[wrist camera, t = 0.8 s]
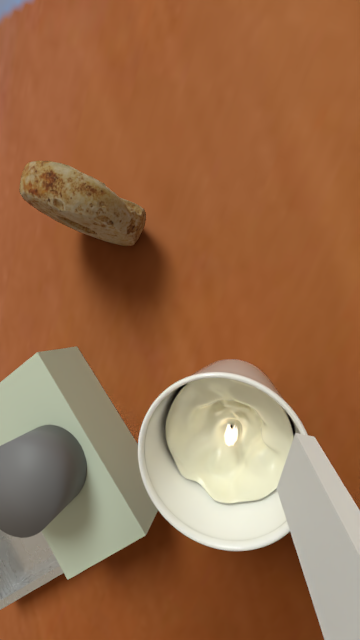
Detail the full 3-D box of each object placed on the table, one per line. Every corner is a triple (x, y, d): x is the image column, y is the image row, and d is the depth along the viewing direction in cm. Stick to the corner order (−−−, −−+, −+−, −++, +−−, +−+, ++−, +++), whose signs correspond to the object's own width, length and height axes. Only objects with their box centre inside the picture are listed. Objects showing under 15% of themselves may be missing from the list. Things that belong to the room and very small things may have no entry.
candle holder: (254, 472, 26) (259, 591, 15) (167, 417, 29) (110, 483, 17) (306, 383, 25) (354, 435, 14) (210, 332, 28) (182, 341, 16)
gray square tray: (101, 539, 30) (89, 558, 28) (17, 589, 33) (-1, 609, 31) (39, 431, 32) (23, 439, 30) (-35, 486, 35) (-56, 497, 33)
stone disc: (67, 232, 32) (-13, 192, 22) (77, 200, 31) (0, 145, 22) (149, 258, 29) (99, 226, 20) (160, 223, 29) (115, 174, 19)
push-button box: (167, 491, 29) (124, 579, 19) (99, 531, 30) (29, 630, 21) (77, 346, 31) (-1, 357, 21) (20, 391, 33) (-76, 420, 23)
